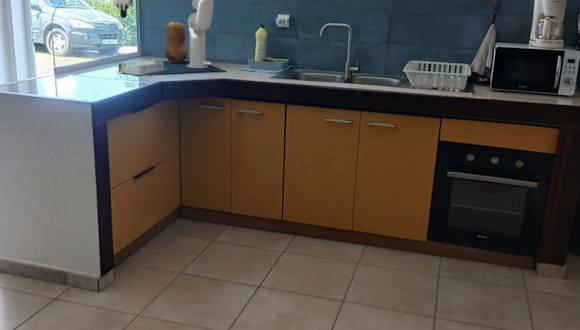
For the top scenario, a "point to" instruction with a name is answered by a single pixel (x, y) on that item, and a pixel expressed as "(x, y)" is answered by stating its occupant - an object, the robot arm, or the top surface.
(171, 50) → the butternut squash
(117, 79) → the top surface
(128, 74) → the mat
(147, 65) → the snack box
